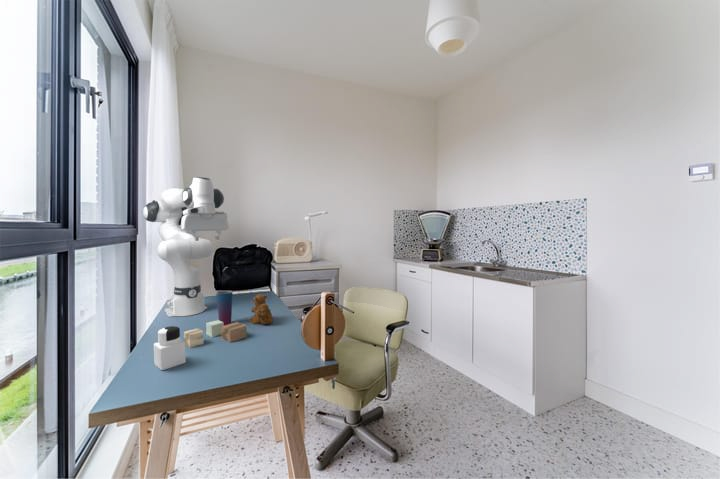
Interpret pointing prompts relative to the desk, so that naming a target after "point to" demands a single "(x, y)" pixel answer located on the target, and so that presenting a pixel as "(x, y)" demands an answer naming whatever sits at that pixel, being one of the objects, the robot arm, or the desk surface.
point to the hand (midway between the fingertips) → (207, 240)
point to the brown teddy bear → (261, 311)
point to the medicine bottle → (169, 348)
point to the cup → (224, 306)
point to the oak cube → (193, 337)
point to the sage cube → (214, 328)
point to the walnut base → (233, 332)
